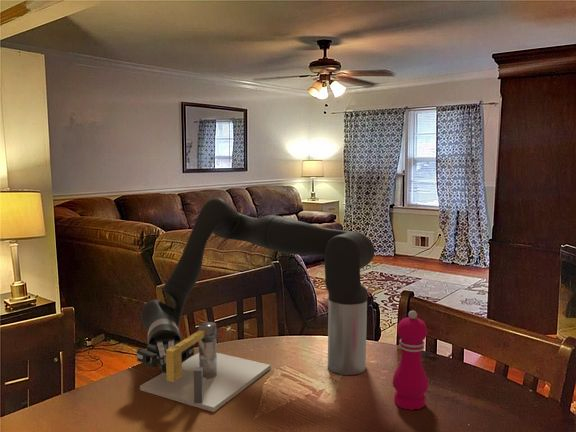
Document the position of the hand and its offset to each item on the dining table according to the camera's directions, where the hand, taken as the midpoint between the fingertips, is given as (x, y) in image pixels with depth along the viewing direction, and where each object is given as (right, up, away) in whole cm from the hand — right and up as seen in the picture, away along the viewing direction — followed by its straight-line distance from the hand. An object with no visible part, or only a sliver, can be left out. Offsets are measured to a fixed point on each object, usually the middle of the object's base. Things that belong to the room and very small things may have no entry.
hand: (168, 368), depth 101 cm
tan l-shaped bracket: (+4, -1, +6) cm, 7 cm away
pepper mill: (+50, -8, +2) cm, 51 cm away
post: (+6, -6, +13) cm, 16 cm away
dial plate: (+6, -6, +13) cm, 16 cm away
